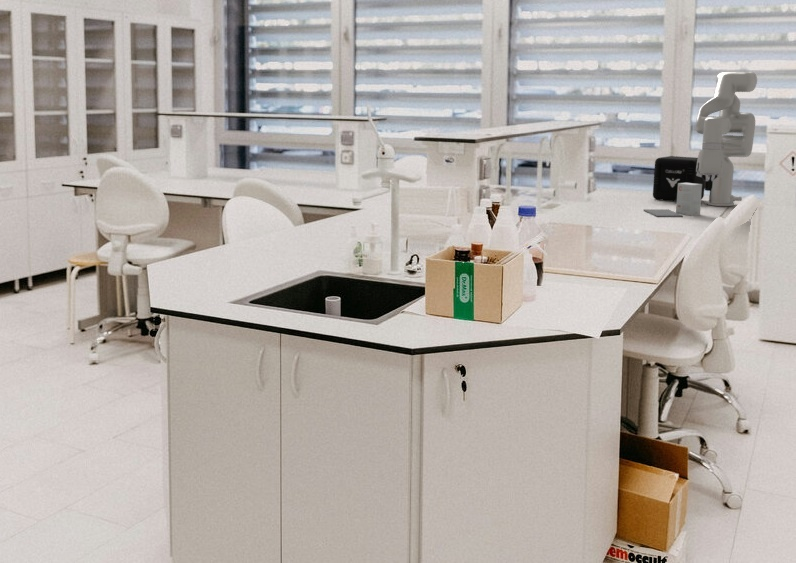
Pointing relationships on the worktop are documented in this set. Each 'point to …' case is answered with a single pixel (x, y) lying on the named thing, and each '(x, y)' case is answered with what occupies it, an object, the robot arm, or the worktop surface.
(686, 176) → the air purifier
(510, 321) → the worktop surface
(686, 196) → the small box
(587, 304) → the worktop surface
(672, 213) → the rubber mat
